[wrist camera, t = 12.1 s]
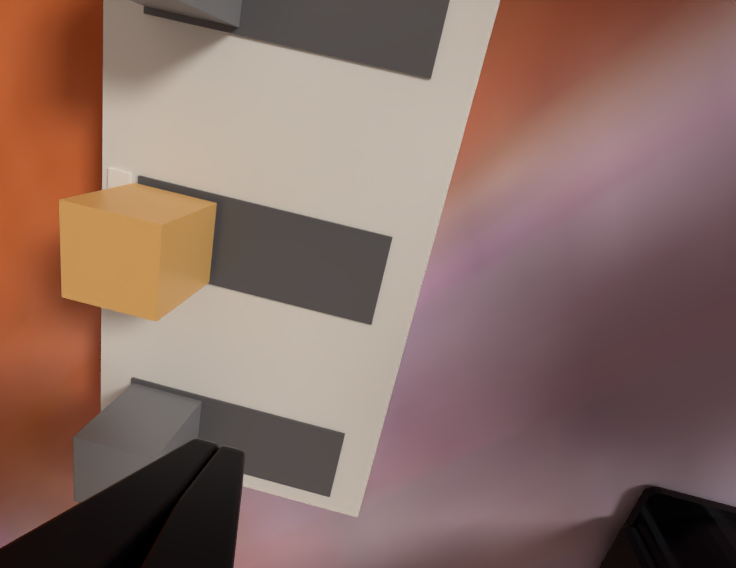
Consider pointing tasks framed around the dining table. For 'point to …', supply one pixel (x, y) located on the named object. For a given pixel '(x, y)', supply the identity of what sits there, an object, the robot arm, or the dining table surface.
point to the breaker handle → (135, 248)
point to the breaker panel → (280, 225)
